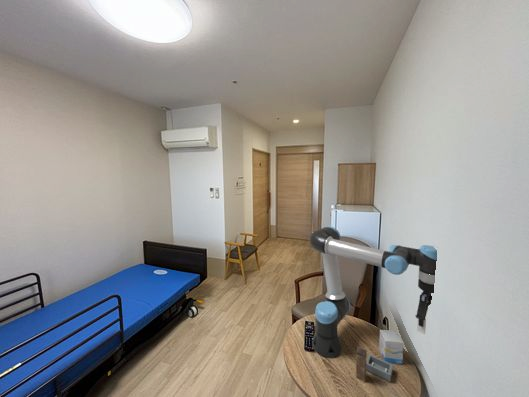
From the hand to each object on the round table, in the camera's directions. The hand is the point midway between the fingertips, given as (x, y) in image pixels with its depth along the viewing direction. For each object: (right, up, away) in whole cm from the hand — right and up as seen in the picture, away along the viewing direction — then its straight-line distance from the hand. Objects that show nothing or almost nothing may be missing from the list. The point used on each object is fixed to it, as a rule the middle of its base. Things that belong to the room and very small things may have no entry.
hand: (426, 325), depth 96 cm
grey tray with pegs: (-18, -26, +6) cm, 32 cm away
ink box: (-8, -25, +14) cm, 30 cm away
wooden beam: (-28, -26, +3) cm, 39 cm away
